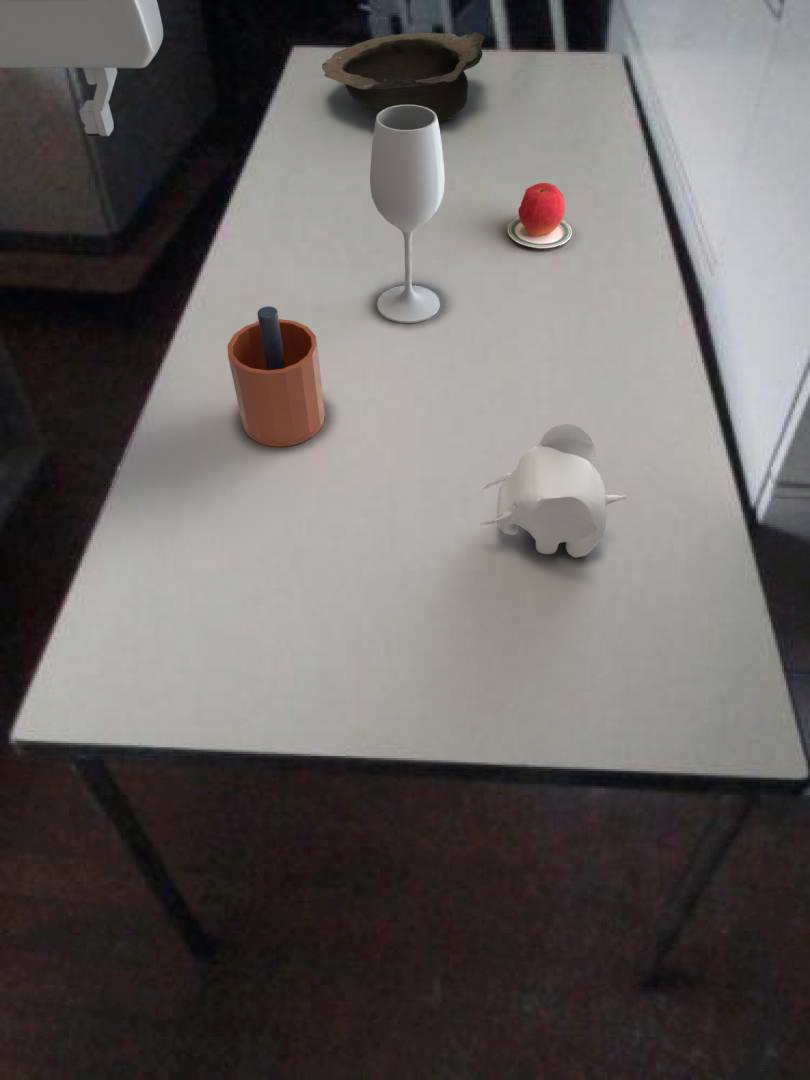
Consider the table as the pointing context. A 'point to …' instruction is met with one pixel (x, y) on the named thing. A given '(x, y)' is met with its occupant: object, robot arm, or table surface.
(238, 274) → the table surface
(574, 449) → the elephant figurine
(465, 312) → the table surface
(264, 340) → the rod
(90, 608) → the table surface
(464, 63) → the stone bowl
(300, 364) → the cup
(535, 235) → the apple
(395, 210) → the wineglass
